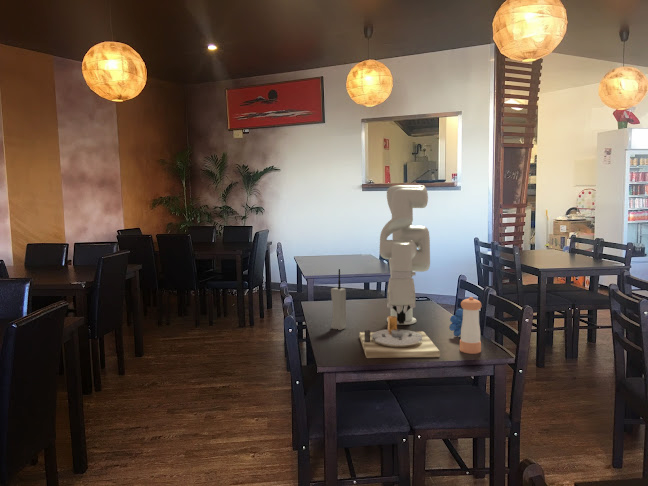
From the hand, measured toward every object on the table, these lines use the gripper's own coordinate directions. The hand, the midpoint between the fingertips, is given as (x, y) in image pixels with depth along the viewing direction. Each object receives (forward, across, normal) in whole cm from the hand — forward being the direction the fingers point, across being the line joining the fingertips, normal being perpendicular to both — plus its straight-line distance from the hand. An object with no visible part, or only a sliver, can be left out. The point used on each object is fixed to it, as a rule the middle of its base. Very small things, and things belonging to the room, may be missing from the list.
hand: (401, 322), depth 191 cm
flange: (+4, +3, +8) cm, 9 cm away
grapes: (+7, -25, -3) cm, 26 cm away
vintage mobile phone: (+7, +23, -18) cm, 30 cm away
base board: (+7, +3, +8) cm, 11 cm away
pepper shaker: (+7, -22, +14) cm, 27 cm away
